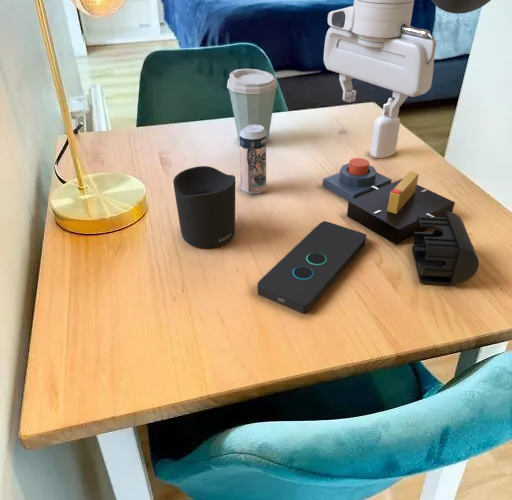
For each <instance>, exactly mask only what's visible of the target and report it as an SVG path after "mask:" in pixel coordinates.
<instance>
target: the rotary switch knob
mask: <svg viewBox="0 0 512 500" xmlns="http://www.w3.org/2000/svg"><path fill="white" fill-rule="evenodd" d="M419 175H420V174H419V173H418V172H415V171H409V172H408V173H406V175H405V176H404V177H403V178H401V179H402V180H401V182H400V183H399V184H398V185H397V186H396V187H395V188H394V189H393V190H392V191H391V192H390V197H389V203H388V209H387V211H388V212H391V213H395V214H397V213H398V211H399V210H400V209H401V208H402V207H403V206H404V204H405V203H406V202H407V201H408V200H409V198H410V197H411V196H412V195H413V194H414V192H415V190H416V185H418V179H419Z"/></svg>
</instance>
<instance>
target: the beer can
mask: <svg viewBox="0 0 512 500" xmlns="http://www.w3.org/2000/svg"><path fill="white" fill-rule="evenodd" d="M266 134H267V133H266V131H265V129H264V127H263V126H261V125H257V124H250V125H245V126H243V127H242V130H241V132H240V134H239V135H240V141H239V160H240V161H239V163H240V164H239V165H240V166H239V167H240V189H241V190H242V192H245V193H247V194H251V195H255V194H260V193H262V192H264V191H266V189H267V143H266Z"/></svg>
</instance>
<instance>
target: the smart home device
mask: <svg viewBox="0 0 512 500" xmlns="http://www.w3.org/2000/svg"><path fill="white" fill-rule="evenodd" d="M367 237H368V235H367V234H366V233H364V232H361V231H358V230H355V229H352V228H348V227H345V226H342V225H339V224H337V223H332V222H329V221H327V220H323V221H321V222H320V223H318V224H317V225H316V226H315V227H314V228H313V229H312V230H311V231H310V232H309V233H308V234H307V235H306V236H305V237H303V239H301V240H300V241H299V242H298V243H297V244H296V245H295V246H294V247H293V248H292V249H291V250H290V251H289V252H288V253H287V254H286V255H285V256H283V258H282V259H280V261H278V262H277V263H276V264H275V265H274V266H273V267H272V268H271V269H270V270H269V271H267V273H266V274H265V275H264V276H263V277H262V278H261V279H259V280H258V282H257V295H258V296H261V297H262V298H265V299H268V300H270V301H272V302H275V303H277V304H280V305H281V306H284V307H287V308H289V309H291V310H293V311H296V312H298V313H301V314H307V313H308V312H309V311H311V309H312V308H313V307H315V305H316V304H317V302H318V301H319V300H320V299H321V298H322V296H323V295H324V294H325V293H326V292H327V291H328V290H329V288H330V287H331V286H332V285H333V284H334V283H335V281H336V280H337V279H338V278H339V277H340V276H341V275H342V273H343V272H344V271H345V270H346V268H348V266H349V265H350V264H351V263H352V262H353V261H354V260H355V258H357V256H358V255H359V254H360V252H361V251H363V249H364V248H365V247H366V244H367Z"/></svg>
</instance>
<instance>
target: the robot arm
mask: <svg viewBox="0 0 512 500" xmlns="http://www.w3.org/2000/svg"><path fill="white" fill-rule="evenodd" d="M430 1H431V3H433V4H434V6H436V7H437V8H438V9H440V10H441V11H444V12H447V13H449V14H457V15H459V14H468V13H471V12H474V11H476V10H478V9H481V8H482V7H484V6H485V5H487V4H489V2H491V1H492V0H430ZM414 4H415V0H353V5H348V6H347V7H344V8H340V9H337V10H335V9H334V10H331V11H330V12H328V14H327V24H328V26H329V28H328V30H327V31H326V34H325V38H324V39H325V40H324V48H323V64H324V67H325V68H326V70H328V71H331V72H334V73H337V74H339V75H338V76H339V78H338V80H339V83H340V87H341V89H342V101H344V102H347V103H354V102H355V101H356V98H357V90H355V89H354V87H353V86H354V85H353V81H352V80H353V79H356V80H359V81H362V82H365V83H368V84H372V85H374V86H378V87H380V88H383V89H386V90H389V91H392V97H391V98H392V99H393V98H394V99H393V102H392V104H390V105H386V106H385V112H384V115H385V116H387V117H389V118H395V117H399V114H400V113H399V112H400V107H402V105H403V103H405V101H406V100H407V99H408V97H411V98H414V97H418V96H422V95H425V94H426V93H428V91H430V90H431V88H432V84H433V76H434V68H435V67H434V66H435V54H436V50H437V49H436V48H437V40H436V39H435V37H434V36H433V34H431V31H430V30H429V29H425V28H417V27H415V26H412V25H411V23H412V17H413V11H414Z"/></svg>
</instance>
